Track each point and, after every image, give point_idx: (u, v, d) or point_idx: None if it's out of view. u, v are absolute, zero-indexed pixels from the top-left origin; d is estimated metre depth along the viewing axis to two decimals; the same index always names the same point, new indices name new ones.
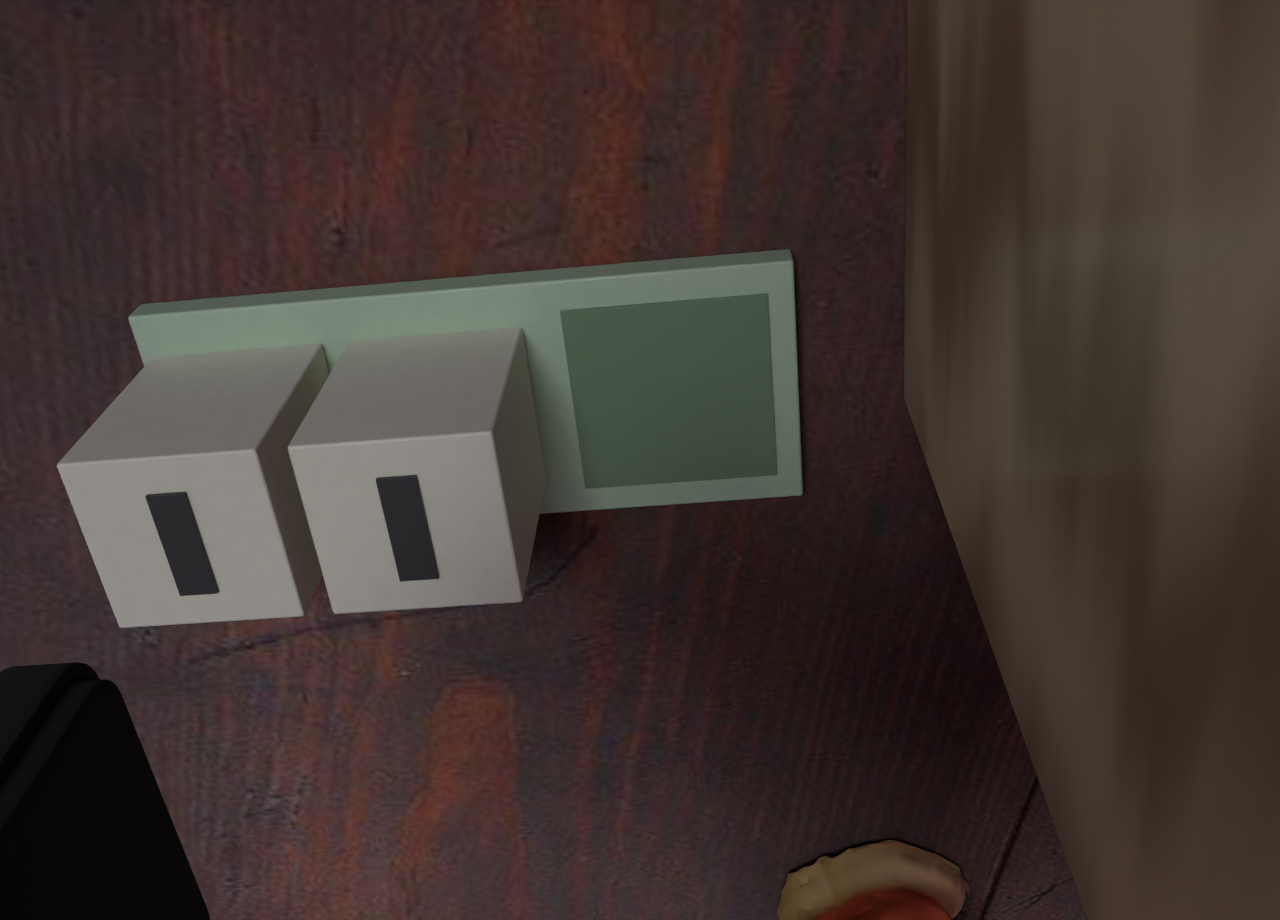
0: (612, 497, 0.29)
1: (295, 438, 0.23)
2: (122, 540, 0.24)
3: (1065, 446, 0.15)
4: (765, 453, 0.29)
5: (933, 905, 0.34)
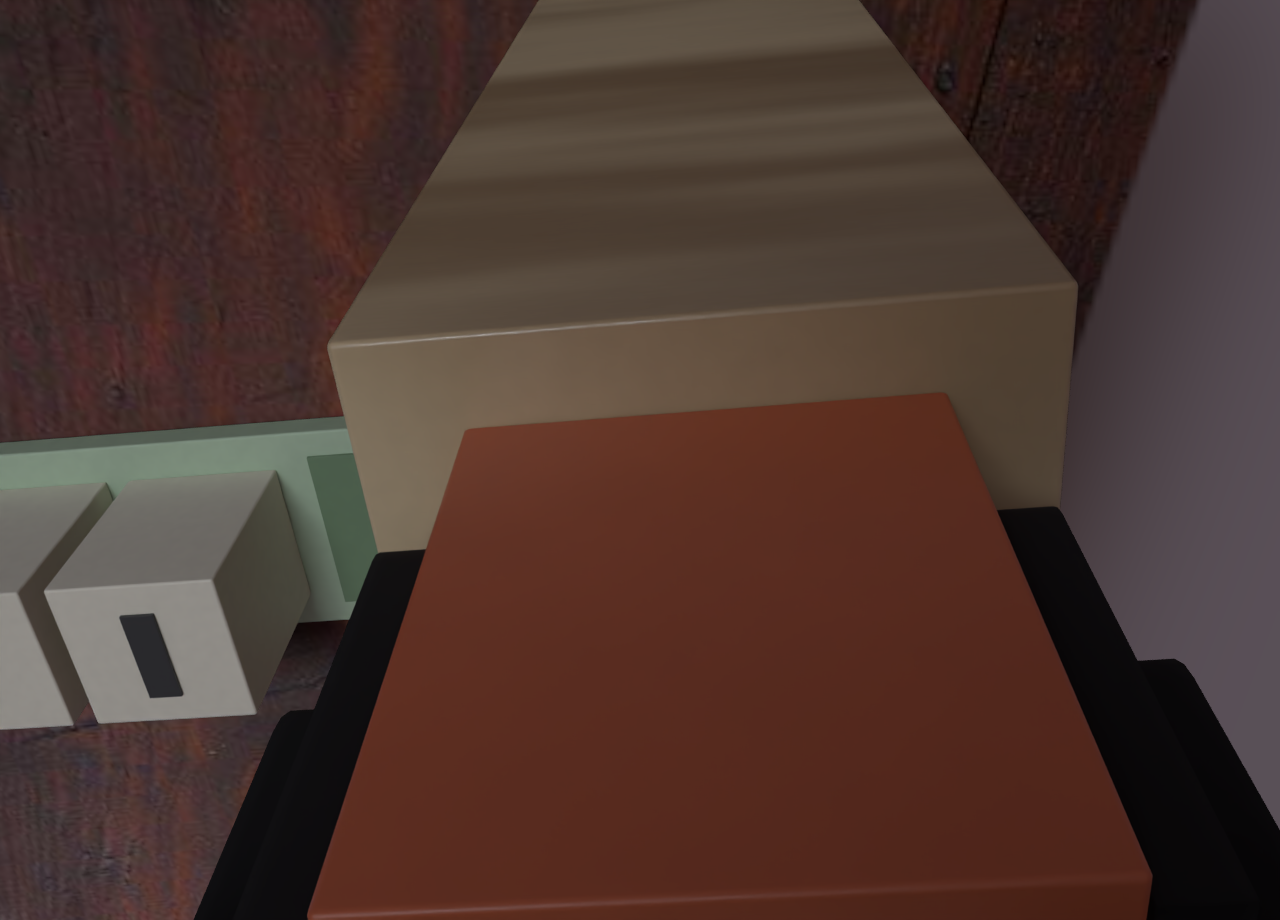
0: None
1: (52, 582, 0.28)
2: None
3: None
4: None
5: None
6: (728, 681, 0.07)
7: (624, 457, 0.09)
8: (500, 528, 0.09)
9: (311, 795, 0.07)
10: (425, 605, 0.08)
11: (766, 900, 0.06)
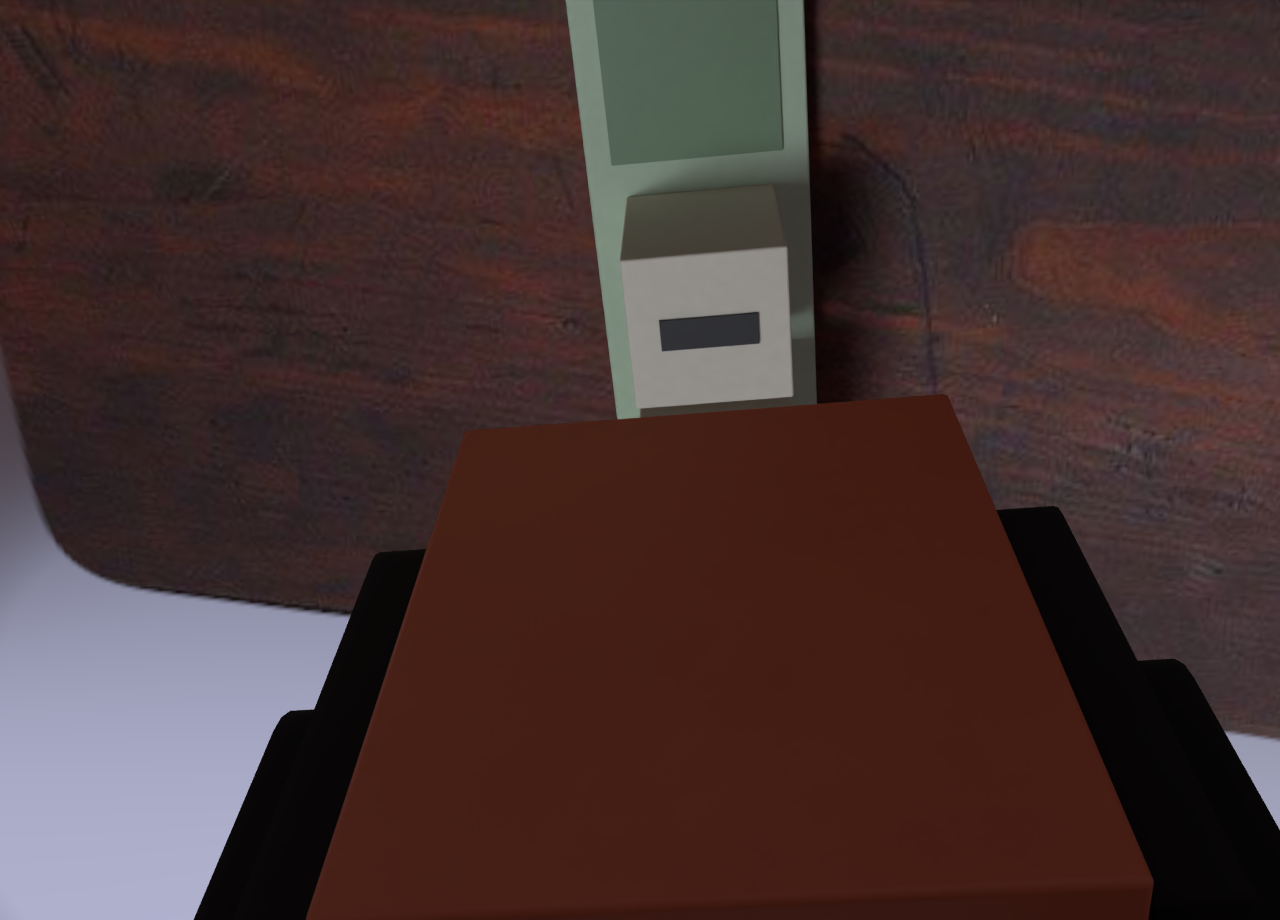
0: (794, 124, 0.32)
1: None
2: None
3: None
4: None
5: None
6: (728, 684, 0.07)
7: (624, 459, 0.09)
8: (500, 530, 0.09)
9: (311, 795, 0.07)
10: (425, 608, 0.08)
11: (768, 905, 0.06)
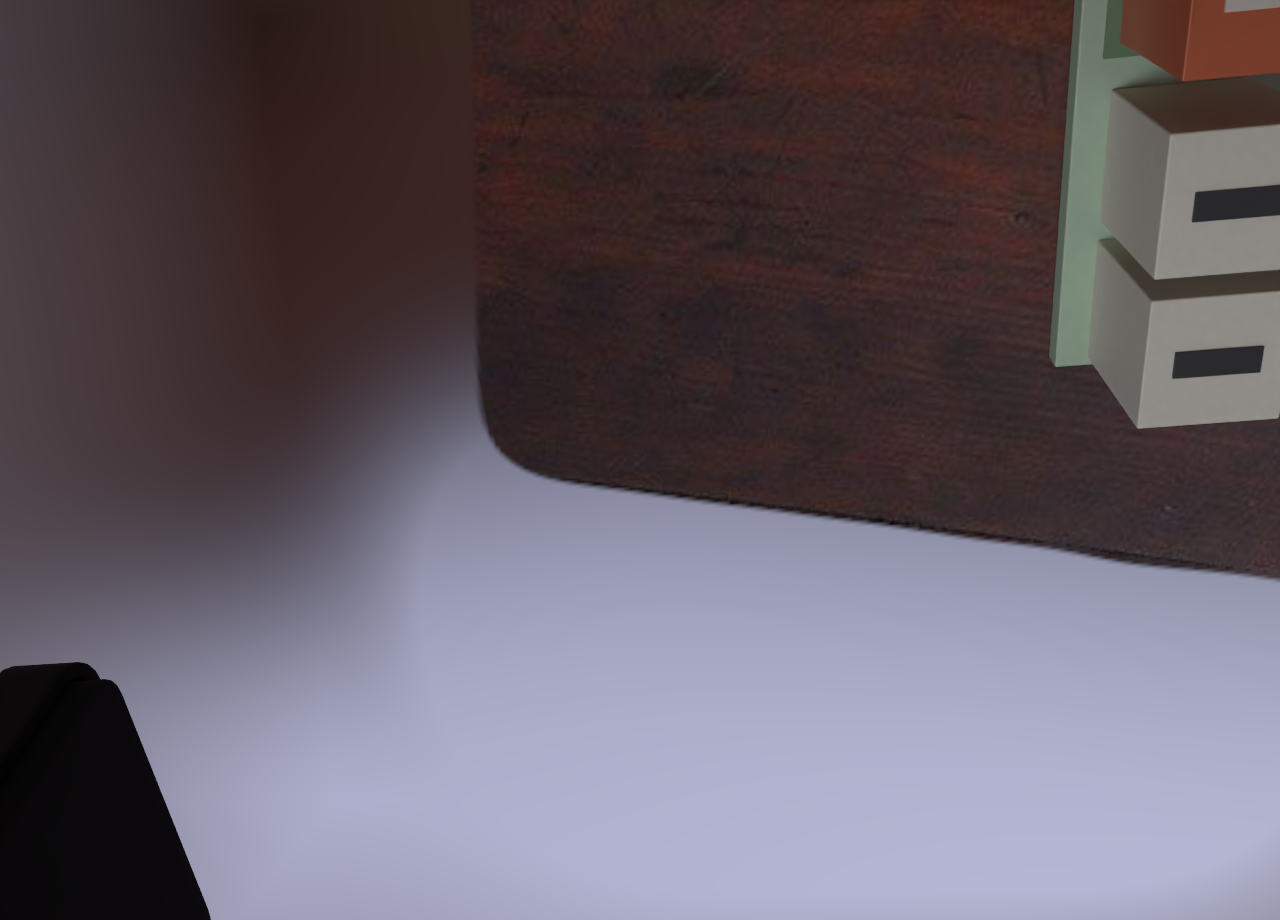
0: None
1: (1150, 273, 0.33)
2: (1204, 400, 0.35)
3: None
4: None
5: None
6: None
7: None
8: None
9: None
10: None
11: None
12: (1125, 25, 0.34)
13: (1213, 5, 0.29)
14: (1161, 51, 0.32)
